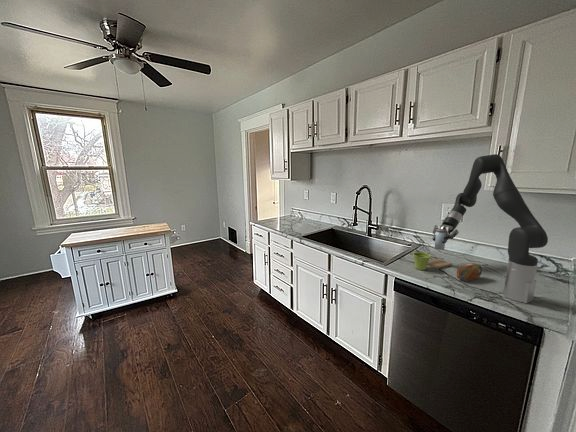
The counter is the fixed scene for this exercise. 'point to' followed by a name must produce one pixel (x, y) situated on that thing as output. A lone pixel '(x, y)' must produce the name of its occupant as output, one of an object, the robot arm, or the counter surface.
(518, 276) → the robot arm
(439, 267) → the tan board
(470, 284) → the counter surface
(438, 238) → the blue jar
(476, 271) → the tin
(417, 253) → the plant pot
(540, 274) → the counter surface
